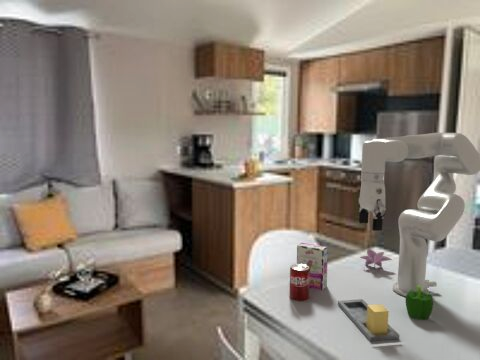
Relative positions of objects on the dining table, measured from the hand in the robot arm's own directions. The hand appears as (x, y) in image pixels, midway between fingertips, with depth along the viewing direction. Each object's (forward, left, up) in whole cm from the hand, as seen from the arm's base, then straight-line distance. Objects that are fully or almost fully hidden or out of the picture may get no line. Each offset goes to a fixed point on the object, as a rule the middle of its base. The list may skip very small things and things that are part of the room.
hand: (370, 226), depth 135 cm
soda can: (+22, -8, -28) cm, 37 cm away
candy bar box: (+14, -18, -28) cm, 36 cm away
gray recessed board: (+6, +12, -28) cm, 31 cm away
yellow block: (+6, +19, -28) cm, 34 cm away
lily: (-20, -32, -29) cm, 47 cm away
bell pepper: (-13, +11, -28) cm, 33 cm away
